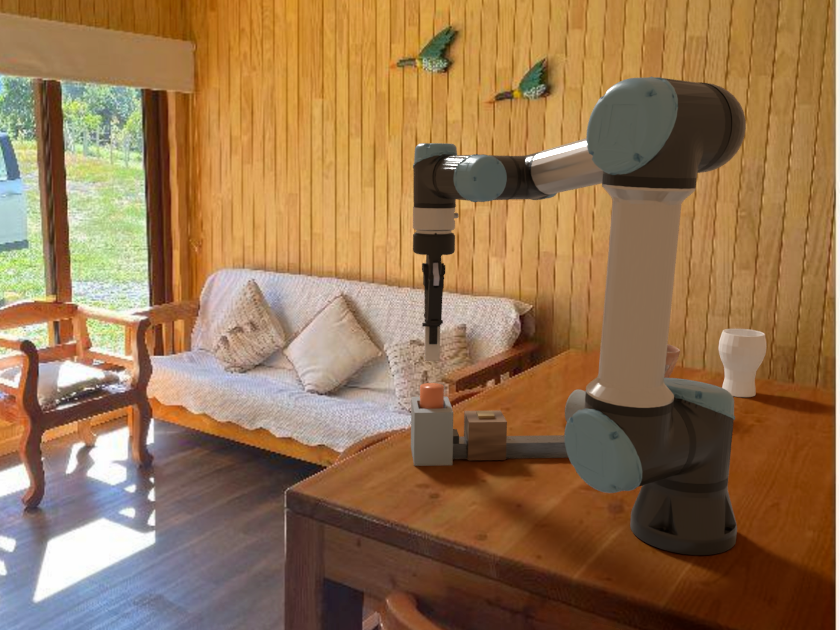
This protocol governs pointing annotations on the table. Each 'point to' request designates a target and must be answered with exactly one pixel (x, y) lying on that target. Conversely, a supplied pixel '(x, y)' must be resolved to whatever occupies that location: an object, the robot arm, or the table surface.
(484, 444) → the block
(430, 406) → the button
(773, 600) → the table surface
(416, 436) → the grey button housing
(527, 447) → the rail
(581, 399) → the ceramic mug
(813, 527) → the table surface
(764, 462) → the table surface
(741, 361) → the cup
